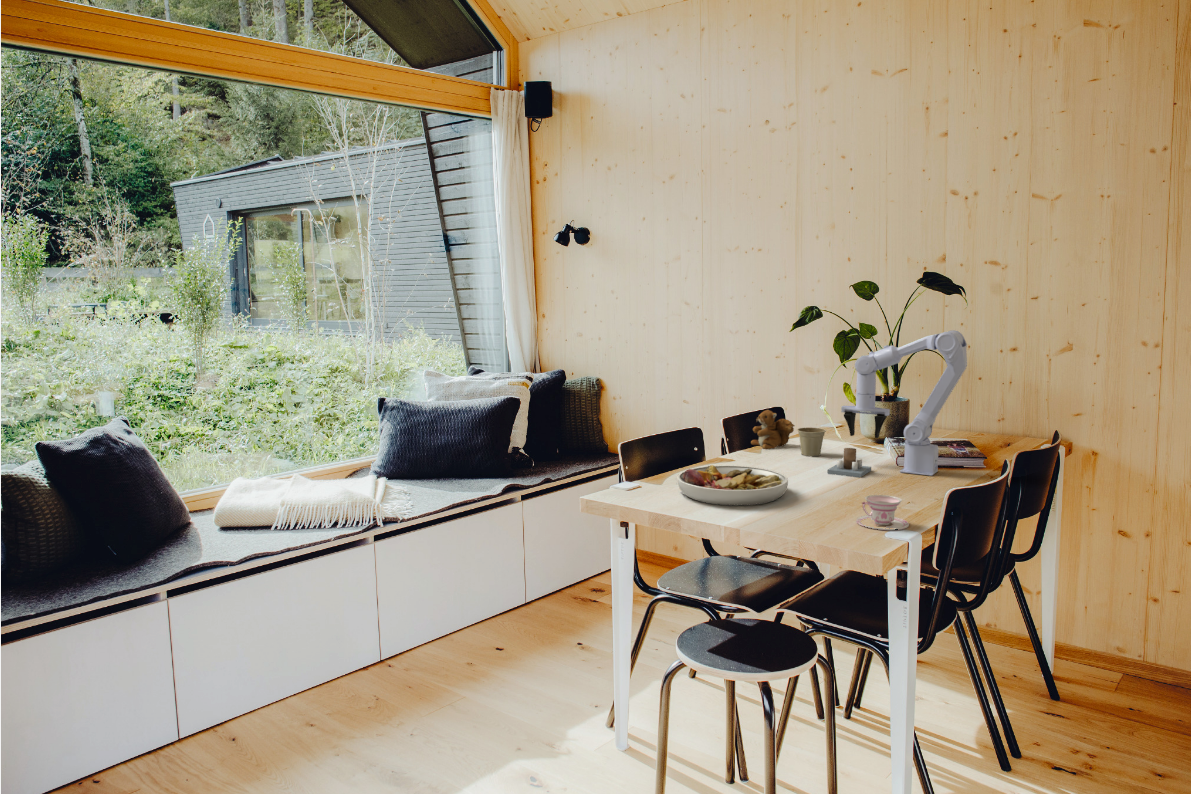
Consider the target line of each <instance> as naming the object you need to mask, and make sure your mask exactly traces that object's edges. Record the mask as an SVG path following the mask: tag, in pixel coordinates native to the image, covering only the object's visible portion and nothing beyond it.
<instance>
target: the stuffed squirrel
mask: <svg viewBox="0 0 1191 794" xmlns="http://www.w3.org/2000/svg"><path fill="white" fill-rule="evenodd" d="M776 417H777V413H776V412H773V411H772V410H769V409H766V410H763V411H762V412H761V413H760V414H758V417H757V418H756V419H755V420H756V422H755V423H757V422H759V424H761V425H757V426H754V427H753V428H752V431H753V433H754V434H757V436H758V439H752V440H751V441H750V444H751V445H752V446H760V447H762V449H763V450H773V449H777V448H778V447H784V446H785V445H787V444H788V443H789V441H790V434H792V433H793V432H794V430H795V428H794V427H795V426H796V425H795V424H794V423H793V422H792V421H791V420H789V419H785V418H780V419H778V420H776ZM775 420H776V421H775Z"/></svg>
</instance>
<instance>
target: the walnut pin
mask: <svg viewBox="0 0 1191 794" xmlns="http://www.w3.org/2000/svg"><path fill="white" fill-rule="evenodd" d="M843 458H844V462H843V468H844V469H849V470H852V462H857V448H855V447H844V448H843Z"/></svg>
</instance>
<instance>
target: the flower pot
mask: <svg viewBox="0 0 1191 794" xmlns="http://www.w3.org/2000/svg"><path fill="white" fill-rule="evenodd" d="M796 431H797V432H798V436H799V443H800V445H799V446H800V452H801V453H800V454H801V455H803V456H804V457H810V456H812V457H819V456H821V452H822V446H823V442H824V441H823V440H824V437H825V433H826V431H827V430H826V429H825V428H820V427H811V426H810V427H799V428H797V429H796Z"/></svg>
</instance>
